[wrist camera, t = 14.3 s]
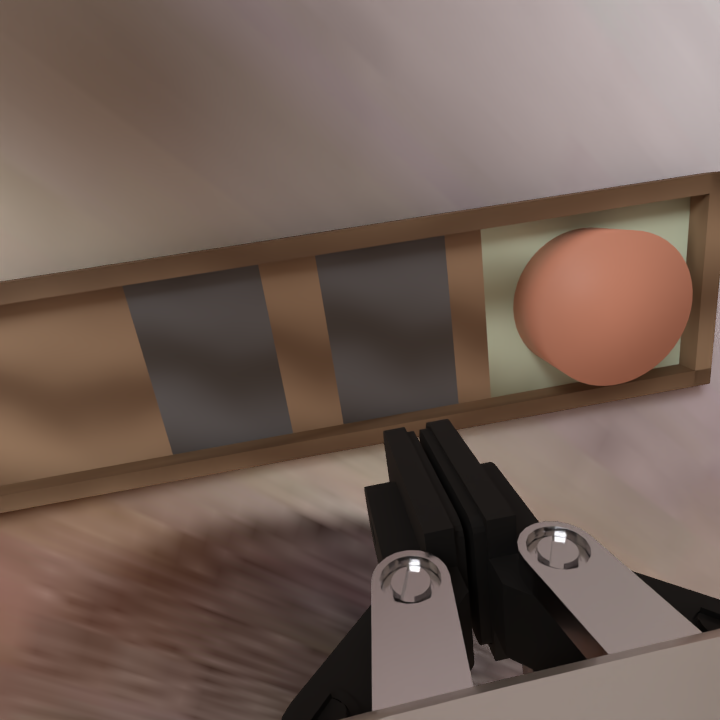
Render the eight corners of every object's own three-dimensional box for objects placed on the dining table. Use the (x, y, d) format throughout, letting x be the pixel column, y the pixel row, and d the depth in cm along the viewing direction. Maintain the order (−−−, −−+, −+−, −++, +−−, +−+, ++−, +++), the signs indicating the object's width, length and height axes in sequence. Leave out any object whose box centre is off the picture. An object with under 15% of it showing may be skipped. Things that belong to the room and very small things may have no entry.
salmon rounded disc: (502, 250, 26) (530, 256, 23) (641, 210, 26) (689, 210, 23) (524, 381, 29) (553, 403, 25) (650, 343, 29) (695, 361, 26)
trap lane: (-130, 301, 24) (-157, 307, 22) (706, 172, 26) (729, 170, 25) (-33, 506, 27) (-51, 522, 26) (690, 375, 30) (709, 383, 29)
